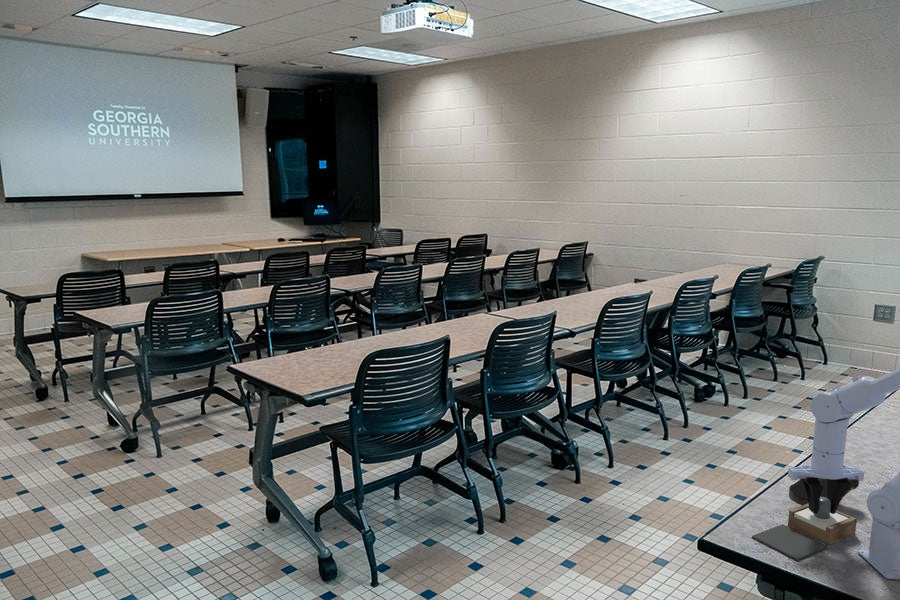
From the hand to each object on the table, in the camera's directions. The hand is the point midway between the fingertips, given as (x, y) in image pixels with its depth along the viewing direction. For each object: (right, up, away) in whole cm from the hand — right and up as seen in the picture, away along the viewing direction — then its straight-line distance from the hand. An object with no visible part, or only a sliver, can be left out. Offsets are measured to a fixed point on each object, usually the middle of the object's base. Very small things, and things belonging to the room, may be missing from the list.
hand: (821, 511), depth 142 cm
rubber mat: (-9, -5, -4) cm, 11 cm away
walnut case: (0, -4, +1) cm, 4 cm away
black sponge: (+7, 0, +12) cm, 14 cm away
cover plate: (0, -2, 0) cm, 2 cm away
